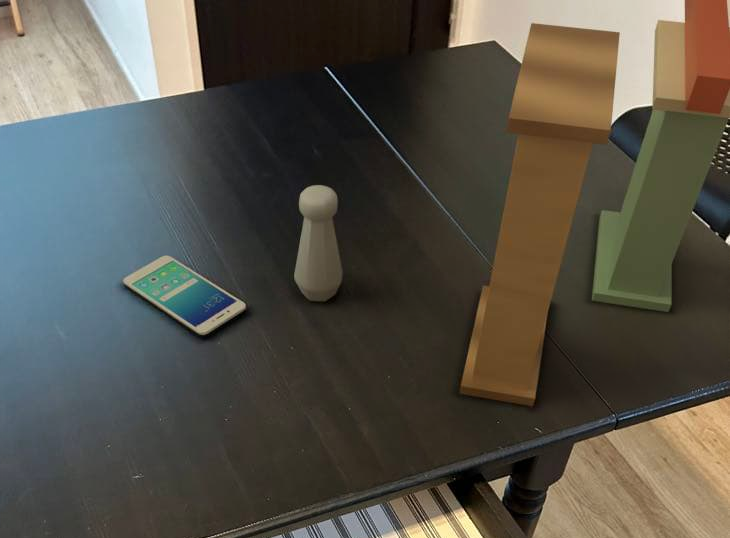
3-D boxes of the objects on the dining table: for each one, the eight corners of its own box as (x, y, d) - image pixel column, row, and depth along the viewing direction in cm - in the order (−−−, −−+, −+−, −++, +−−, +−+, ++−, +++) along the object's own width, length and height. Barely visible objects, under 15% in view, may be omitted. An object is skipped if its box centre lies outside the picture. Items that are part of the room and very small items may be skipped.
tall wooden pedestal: (481, 293, 100) (531, 22, 76) (547, 303, 99) (619, 32, 75) (459, 393, 90) (508, 117, 66) (533, 406, 89) (610, 130, 64)
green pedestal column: (599, 217, 110) (658, 19, 90) (668, 227, 108) (743, 28, 89) (591, 300, 99) (656, 96, 80) (668, 312, 98) (752, 108, 79)
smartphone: (166, 253, 103) (249, 305, 97) (167, 259, 104) (249, 310, 98) (119, 280, 100) (201, 335, 94) (121, 285, 101) (202, 341, 95)
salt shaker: (288, 300, 99) (284, 201, 89) (303, 273, 103) (300, 173, 92) (334, 310, 98) (336, 210, 88) (348, 281, 101) (351, 182, 91)
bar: (684, -7, 94) (694, -40, 92) (713, -5, 94) (724, -37, 91) (685, 110, 78) (697, 75, 76) (720, 114, 78) (733, 79, 75)
